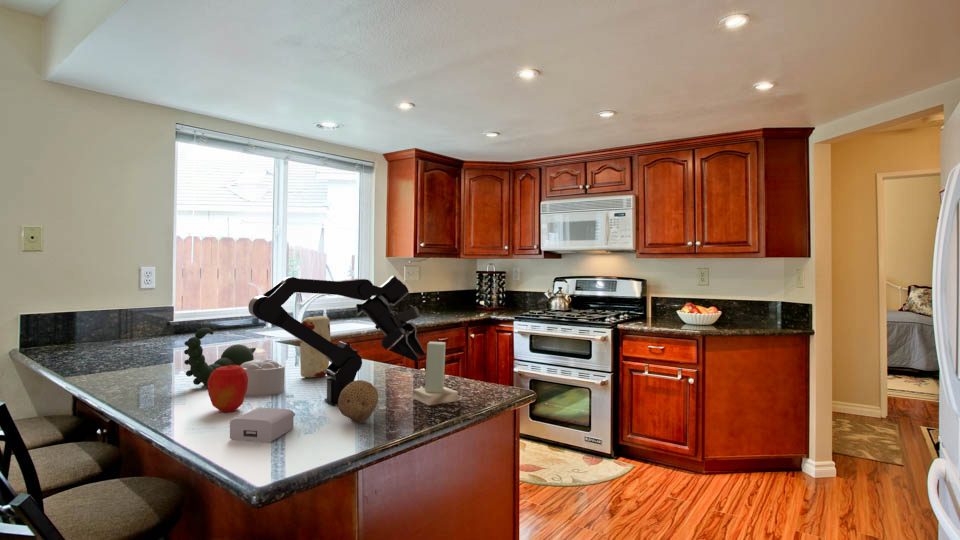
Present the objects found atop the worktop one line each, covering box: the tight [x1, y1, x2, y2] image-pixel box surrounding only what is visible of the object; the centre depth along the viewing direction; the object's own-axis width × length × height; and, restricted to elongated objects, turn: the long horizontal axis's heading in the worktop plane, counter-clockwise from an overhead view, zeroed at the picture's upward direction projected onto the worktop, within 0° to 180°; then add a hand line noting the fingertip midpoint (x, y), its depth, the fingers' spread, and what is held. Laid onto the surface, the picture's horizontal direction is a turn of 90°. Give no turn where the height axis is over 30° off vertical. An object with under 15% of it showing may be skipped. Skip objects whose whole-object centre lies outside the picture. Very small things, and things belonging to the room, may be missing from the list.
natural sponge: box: [337, 379, 379, 425], centre depth 117 cm, size 9×9×10 cm
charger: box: [229, 407, 296, 444], centre depth 111 cm, size 5×9×15 cm
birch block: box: [412, 386, 459, 406], centre depth 140 cm, size 9×9×3 cm
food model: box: [299, 315, 332, 378], centre depth 167 cm, size 10×7×20 cm
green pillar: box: [424, 341, 447, 393], centre depth 140 cm, size 4×4×13 cm
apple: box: [207, 363, 248, 413], centre depth 126 cm, size 9×9×12 cm
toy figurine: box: [183, 327, 257, 387], centre depth 156 cm, size 9×19×25 cm
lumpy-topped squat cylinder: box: [240, 358, 286, 396], centre depth 147 cm, size 10×13×9 cm
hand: (420, 357), depth 140 cm, fingers open, 9 cm apart
